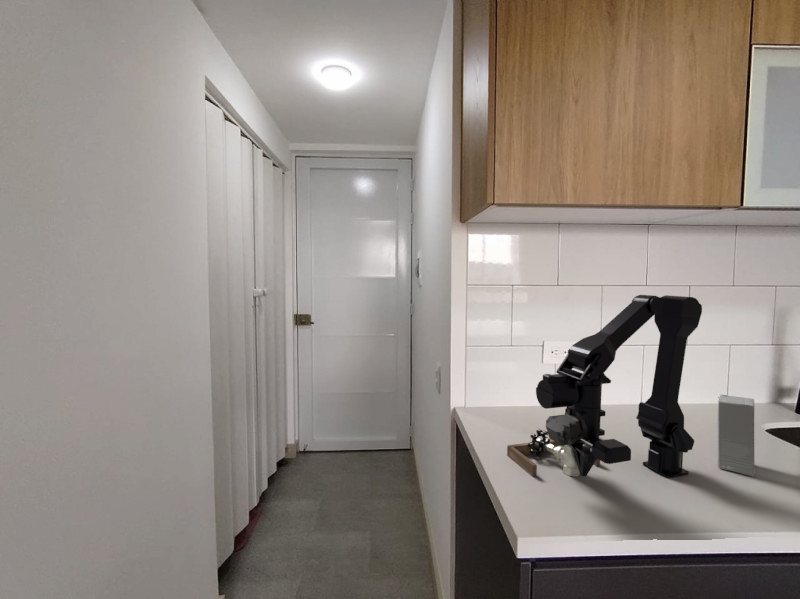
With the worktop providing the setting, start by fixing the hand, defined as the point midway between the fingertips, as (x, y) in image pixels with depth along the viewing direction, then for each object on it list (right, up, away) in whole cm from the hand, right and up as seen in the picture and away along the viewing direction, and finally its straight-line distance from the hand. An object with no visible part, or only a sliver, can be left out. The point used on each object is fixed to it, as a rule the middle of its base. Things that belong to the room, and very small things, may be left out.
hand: (583, 475), depth 85 cm
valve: (-3, -1, +8) cm, 8 cm away
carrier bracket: (-3, -1, +9) cm, 10 cm away
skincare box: (+39, -1, +8) cm, 39 cm away
